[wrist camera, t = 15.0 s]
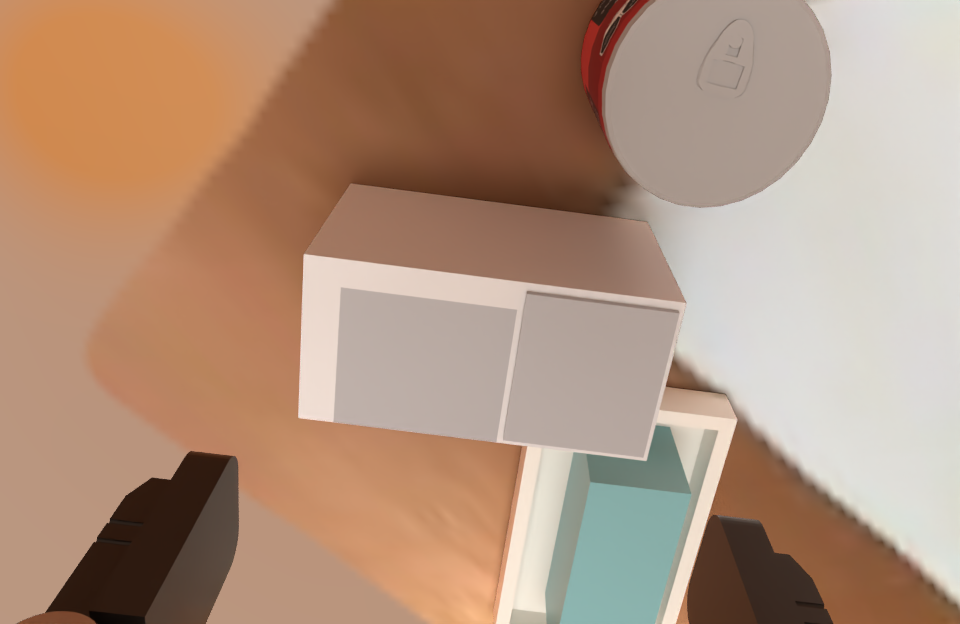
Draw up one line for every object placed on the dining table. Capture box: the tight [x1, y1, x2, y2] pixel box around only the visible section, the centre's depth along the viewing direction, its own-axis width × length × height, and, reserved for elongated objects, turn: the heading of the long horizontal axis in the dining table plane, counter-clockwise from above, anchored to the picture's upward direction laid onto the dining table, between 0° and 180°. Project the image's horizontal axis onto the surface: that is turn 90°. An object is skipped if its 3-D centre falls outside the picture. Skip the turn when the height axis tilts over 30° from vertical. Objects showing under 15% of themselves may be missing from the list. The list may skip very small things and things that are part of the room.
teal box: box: [545, 425, 692, 624], centre depth 45 cm, size 5×13×7 cm, turn 173°
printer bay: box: [298, 183, 686, 461], centre depth 37 cm, size 15×8×10 cm, turn 83°
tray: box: [493, 387, 737, 624], centre depth 47 cm, size 11×18×3 cm, turn 173°
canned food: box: [581, 0, 831, 208], centre depth 32 cm, size 8×8×11 cm
